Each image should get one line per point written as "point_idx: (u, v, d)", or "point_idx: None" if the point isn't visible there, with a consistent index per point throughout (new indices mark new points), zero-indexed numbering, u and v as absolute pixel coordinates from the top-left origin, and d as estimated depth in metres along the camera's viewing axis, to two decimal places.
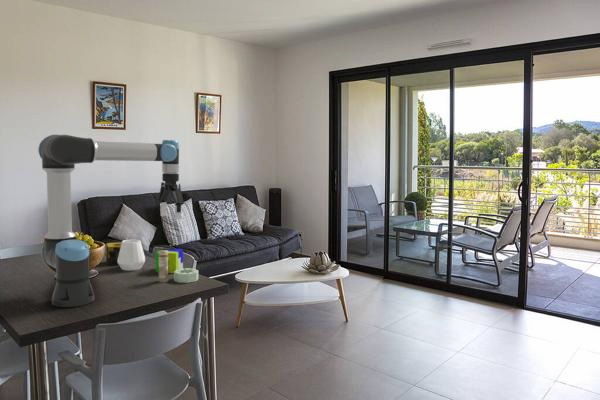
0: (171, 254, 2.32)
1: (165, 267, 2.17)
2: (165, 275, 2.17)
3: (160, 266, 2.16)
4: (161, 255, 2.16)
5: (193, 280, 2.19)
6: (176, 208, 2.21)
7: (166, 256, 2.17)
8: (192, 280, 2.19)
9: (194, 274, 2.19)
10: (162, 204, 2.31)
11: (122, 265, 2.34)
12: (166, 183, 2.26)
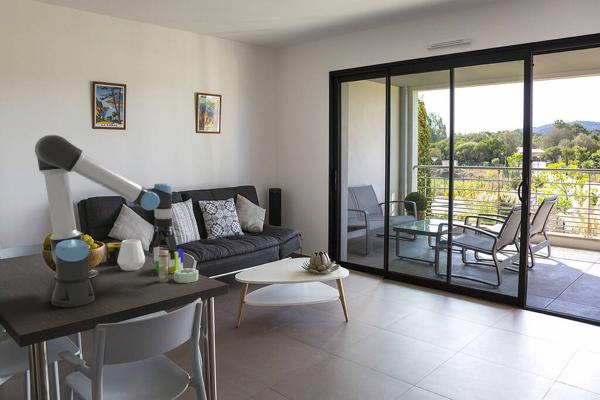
0: None
1: (165, 267, 2.17)
2: (165, 275, 2.17)
3: (160, 266, 2.16)
4: (161, 255, 2.16)
5: (193, 280, 2.19)
6: (169, 255, 2.12)
7: (166, 256, 2.17)
8: (192, 280, 2.19)
9: (194, 274, 2.19)
10: (155, 249, 2.22)
11: (122, 265, 2.34)
12: (159, 228, 2.17)
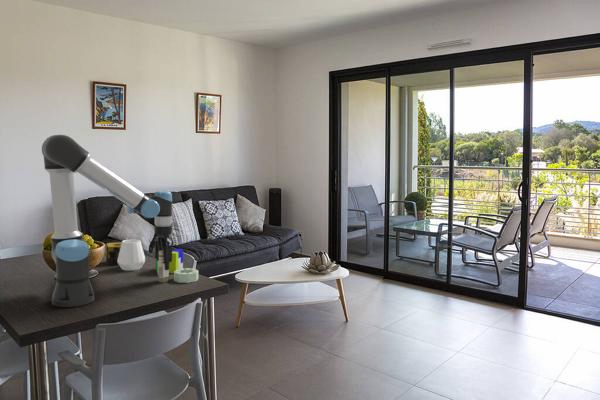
0: None
1: None
2: None
3: (160, 266, 2.16)
4: (161, 255, 2.16)
5: (193, 280, 2.19)
6: (164, 266, 2.15)
7: None
8: (192, 280, 2.19)
9: (194, 274, 2.19)
10: None
11: (122, 265, 2.34)
12: (158, 234, 2.17)
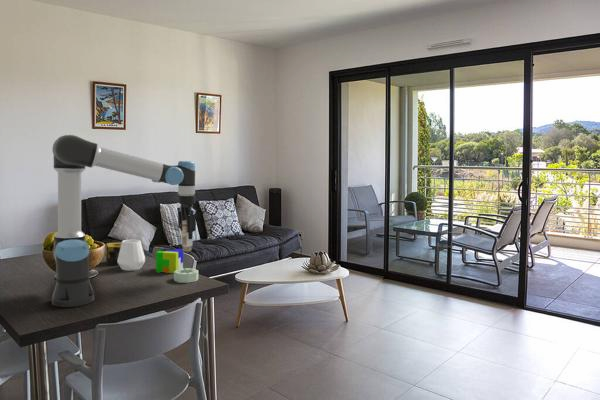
0: (171, 254, 2.32)
1: None
2: None
3: (184, 235, 2.19)
4: (185, 224, 2.18)
5: (193, 280, 2.19)
6: (188, 235, 2.18)
7: None
8: (192, 280, 2.19)
9: (194, 274, 2.19)
10: None
11: (122, 265, 2.34)
12: (181, 204, 2.20)
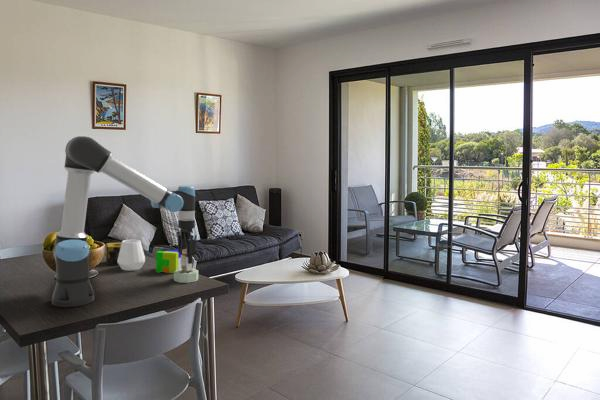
0: (171, 254, 2.32)
1: None
2: None
3: (183, 264, 2.20)
4: (184, 254, 2.19)
5: (193, 280, 2.19)
6: (187, 259, 2.19)
7: None
8: (192, 280, 2.19)
9: (194, 274, 2.19)
10: None
11: (122, 265, 2.34)
12: (181, 228, 2.21)
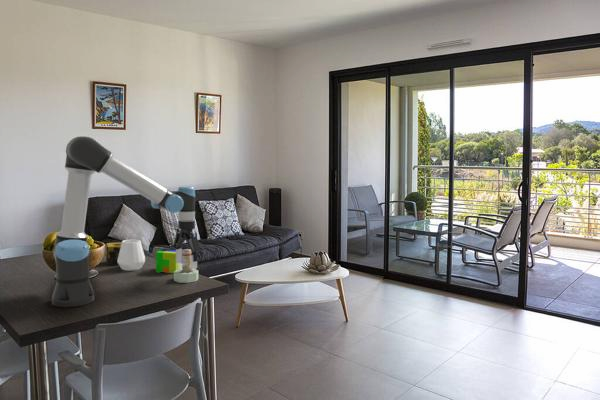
0: (171, 254, 2.32)
1: (188, 266, 2.20)
2: None
3: (184, 265, 2.20)
4: (185, 254, 2.19)
5: (193, 280, 2.19)
6: (192, 257, 2.15)
7: (189, 255, 2.20)
8: (192, 280, 2.19)
9: (194, 274, 2.19)
10: (177, 251, 2.25)
11: (122, 265, 2.34)
12: (182, 230, 2.21)
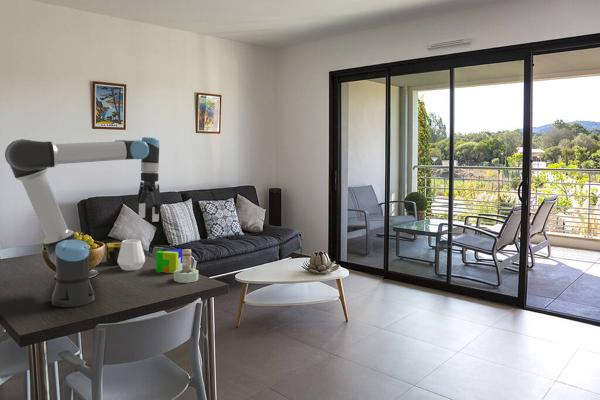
0: (171, 254, 2.32)
1: (188, 266, 2.20)
2: None
3: (184, 265, 2.20)
4: (184, 254, 2.19)
5: (193, 280, 2.19)
6: (154, 209, 2.08)
7: (189, 255, 2.20)
8: (192, 280, 2.19)
9: (194, 274, 2.19)
10: (140, 205, 2.18)
11: (122, 265, 2.34)
12: (145, 183, 2.14)
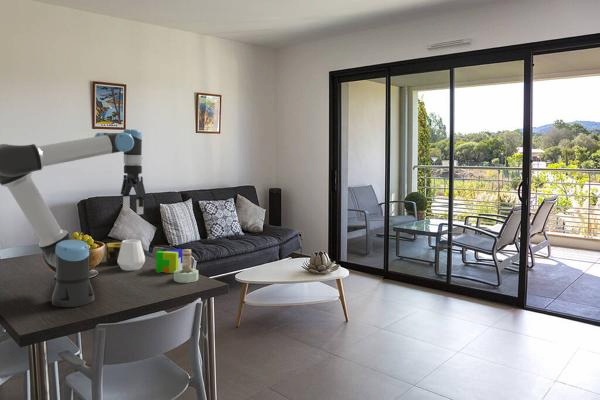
0: (171, 254, 2.32)
1: (188, 266, 2.20)
2: None
3: (184, 265, 2.20)
4: (185, 254, 2.19)
5: (193, 280, 2.19)
6: (138, 202, 2.06)
7: (189, 255, 2.20)
8: (192, 280, 2.19)
9: (194, 274, 2.19)
10: (125, 198, 2.16)
11: (122, 265, 2.34)
12: (128, 176, 2.12)
